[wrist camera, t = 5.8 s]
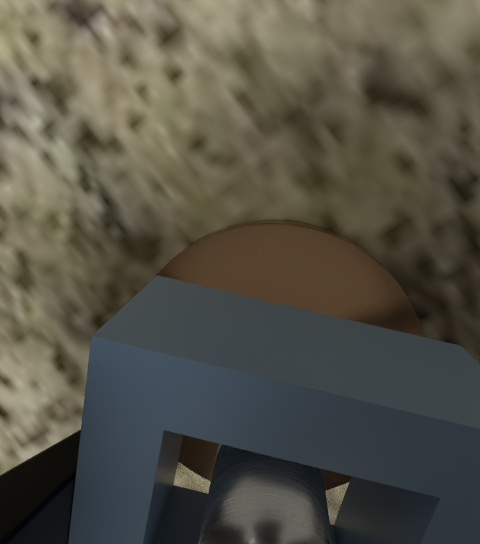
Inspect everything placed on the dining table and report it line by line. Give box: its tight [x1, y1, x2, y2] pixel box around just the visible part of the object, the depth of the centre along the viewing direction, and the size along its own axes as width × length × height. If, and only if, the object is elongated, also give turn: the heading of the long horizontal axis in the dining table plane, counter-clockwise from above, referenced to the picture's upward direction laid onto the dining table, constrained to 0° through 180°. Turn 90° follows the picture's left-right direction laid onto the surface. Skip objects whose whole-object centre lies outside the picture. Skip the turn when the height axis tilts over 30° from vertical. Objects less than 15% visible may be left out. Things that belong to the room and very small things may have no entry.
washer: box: [68, 275, 480, 544], centre depth 8 cm, size 6×6×3 cm
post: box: [155, 220, 425, 544], centre depth 9 cm, size 9×9×7 cm
